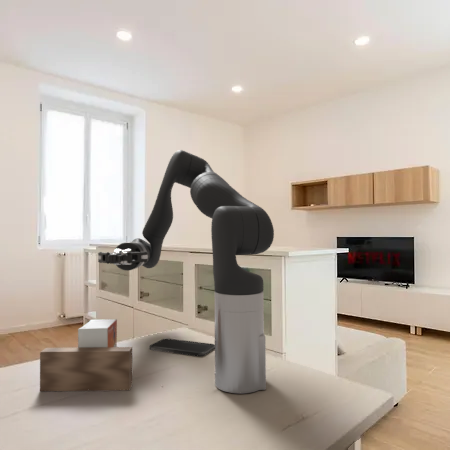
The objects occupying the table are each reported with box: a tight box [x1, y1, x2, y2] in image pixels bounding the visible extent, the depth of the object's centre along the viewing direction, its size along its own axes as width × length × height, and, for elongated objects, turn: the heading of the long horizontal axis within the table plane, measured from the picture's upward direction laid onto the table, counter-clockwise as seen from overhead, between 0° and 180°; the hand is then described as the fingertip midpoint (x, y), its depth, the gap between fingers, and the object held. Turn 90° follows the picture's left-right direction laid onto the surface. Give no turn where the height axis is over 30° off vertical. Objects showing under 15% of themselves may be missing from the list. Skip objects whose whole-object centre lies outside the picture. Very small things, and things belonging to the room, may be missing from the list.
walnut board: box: [39, 346, 133, 392], centre depth 68 cm, size 16×2×7 cm, turn 91°
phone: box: [148, 337, 215, 357], centre depth 91 cm, size 8×1×15 cm
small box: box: [77, 318, 118, 348], centre depth 73 cm, size 8×6×10 cm
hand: (112, 258), depth 84 cm, fingers closed
